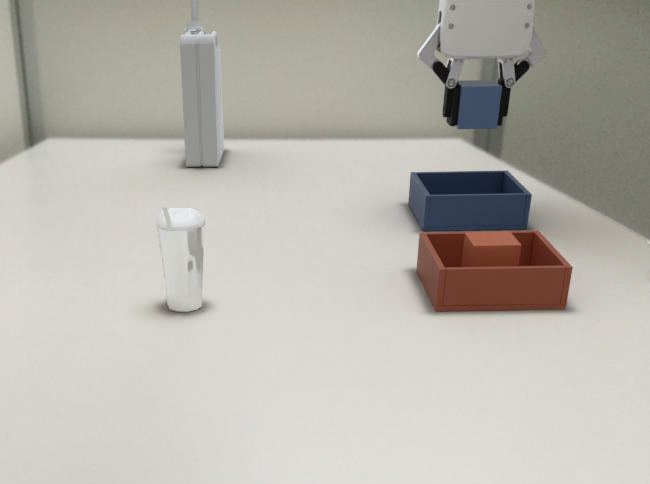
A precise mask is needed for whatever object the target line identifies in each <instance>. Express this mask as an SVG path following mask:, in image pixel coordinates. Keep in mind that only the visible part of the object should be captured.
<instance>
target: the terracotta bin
mask: <svg viewBox="0 0 650 484" xmlns="http://www.w3.org/2000/svg"><path fill="white" fill-rule="evenodd" d="M466 232H467V231H423V232H422V231H421V232H419V235H418V245H417V246H418V247H417V248H418V249H417V257H416V258H417V260H416V269H415V271H416V273H417V275H418V277H419V279H420V281H421V284H422V285H423V288H424V289H425V292H426V293H427V296H428V298H429V300H430V302H431V304H432V306H433V309H434V310H435V312H471V311H472V312H473V311H474V312H478V311H482V312H483V311H532V310H533V311H539V310H566V309H567V303H568V297H569V292H570V285H571V280H572V274H573V266H572V264H571V263H569V261H568V260H567V259H566V258H565V257H564V256H563V255H562V254H561V253H560V252H559V251H558V250H557V249H556V248H555V246H554V245H553V244H552V242H550V241H549V239H547V238H546V237H545V235H544V234H543V233H542V232H541V231H540V230H538V229H537V230H477V232H511V233H512V234H513V235H514V237H515V238H516V239H517V240H518V241H519V243H520V244H521V252H520V259H519V266H503V267H461V265H462V256H463V246H464V237H465V233H466Z"/></svg>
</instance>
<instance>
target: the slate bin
mask: <svg viewBox="0 0 650 484" xmlns="http://www.w3.org/2000/svg"><path fill="white" fill-rule="evenodd" d="M408 189H409V190H408V201H407V202H408V203H407V204H408V207H409V208H410V210H411V212H412V215H414V217H415V219H416V221H417V223H418V225H419V226H420V228H421V230H422V231H423V232H455V231H514V230H528V225H529V216H530V212H531V211H530V210H531V202H532V196H533V195H532V194H533V193H531V192H530V191H529V190H528V188H526V187H525V186H524V185H523V184H522V183H521V182H520V181H519V180H518V179H517V178H516V177H515V176H514V175H513V174H512V173H511V172H510V171H509V170H506V169H505V170H459V171H457V170H456V171H455V170H452V171H449V170H448V171H411V172H410V174H409V188H408Z"/></svg>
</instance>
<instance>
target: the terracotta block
mask: <svg viewBox="0 0 650 484" xmlns="http://www.w3.org/2000/svg"><path fill="white" fill-rule="evenodd" d="M465 232H466V233H465V237H464V246H463V256H462V265H461V267H503V266H519V259H520V252H521V244H520V243H519V241H518V240H517V239H516V238H515V237H514V235H513V234H512V233H511V232H478V231H465Z"/></svg>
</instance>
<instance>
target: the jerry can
mask: <svg viewBox="0 0 650 484" xmlns="http://www.w3.org/2000/svg"><path fill="white" fill-rule="evenodd" d="M190 19H191V20H190V21H189V22H188V23H185V28H184V30H183V32H184V34H181V35H180V36H179V52H180V54H179V55H180V71H181V90H182V94H181V95H182V112H183V113H182V115H183V133H184V137H183V138H184V155H185V156H184V157H185V167H186V168H195V167H196V168H201V167H203V168H208V167H209V168H210V167H212V168H216V167H219V166H220V162H221V159H222V157H223V153H224V151H225V139H224V138H225V136H224V135H225V134H224V101H223V99H224V98H223V66H222V65H223V64H222V63H223V62H222V51H221V47H220V45H219V42H218V41H219V40H218V32H217V31H216V30H213V31H212V32H210V33H207V32H205V31H204V27H203V23H201V22H200V21H199V0H190Z"/></svg>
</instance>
